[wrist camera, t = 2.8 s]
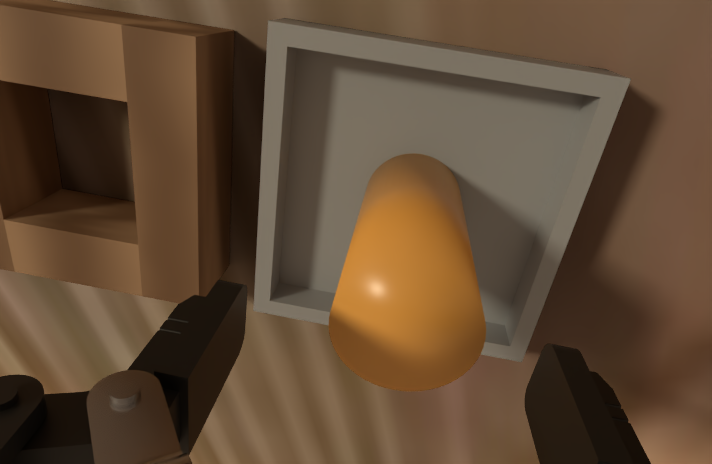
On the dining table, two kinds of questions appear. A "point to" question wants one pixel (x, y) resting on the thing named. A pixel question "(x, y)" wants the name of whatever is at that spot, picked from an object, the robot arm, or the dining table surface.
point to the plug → (409, 281)
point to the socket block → (147, 139)
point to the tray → (432, 138)
